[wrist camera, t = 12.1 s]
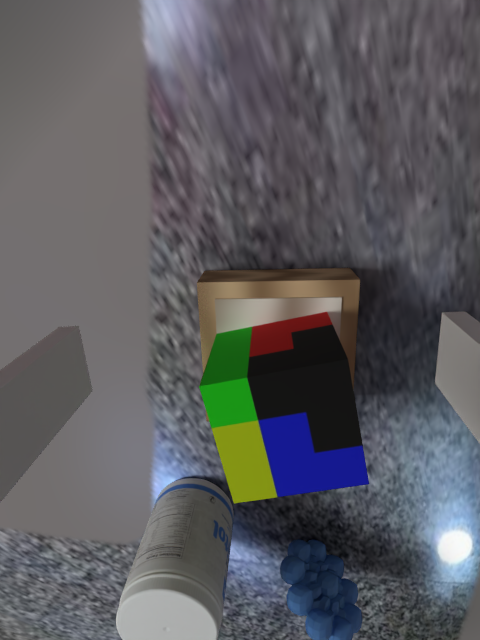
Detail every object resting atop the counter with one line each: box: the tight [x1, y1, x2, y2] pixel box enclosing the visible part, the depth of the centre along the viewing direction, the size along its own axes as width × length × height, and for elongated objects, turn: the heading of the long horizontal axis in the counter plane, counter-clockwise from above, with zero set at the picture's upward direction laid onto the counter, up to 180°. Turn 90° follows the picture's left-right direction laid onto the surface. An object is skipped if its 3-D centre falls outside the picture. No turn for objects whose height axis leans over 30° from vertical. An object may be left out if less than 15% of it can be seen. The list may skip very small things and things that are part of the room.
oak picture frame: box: [197, 268, 360, 421], centre depth 40 cm, size 14×14×5 cm
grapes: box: [280, 539, 362, 640], centre depth 46 cm, size 12×7×12 cm, turn 49°
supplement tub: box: [116, 478, 234, 640], centre depth 43 cm, size 10×10×15 cm
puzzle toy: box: [199, 312, 369, 503], centre depth 34 cm, size 10×10×10 cm
